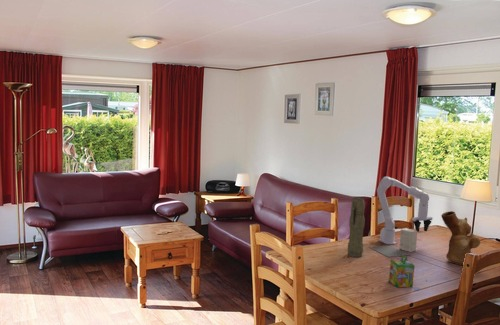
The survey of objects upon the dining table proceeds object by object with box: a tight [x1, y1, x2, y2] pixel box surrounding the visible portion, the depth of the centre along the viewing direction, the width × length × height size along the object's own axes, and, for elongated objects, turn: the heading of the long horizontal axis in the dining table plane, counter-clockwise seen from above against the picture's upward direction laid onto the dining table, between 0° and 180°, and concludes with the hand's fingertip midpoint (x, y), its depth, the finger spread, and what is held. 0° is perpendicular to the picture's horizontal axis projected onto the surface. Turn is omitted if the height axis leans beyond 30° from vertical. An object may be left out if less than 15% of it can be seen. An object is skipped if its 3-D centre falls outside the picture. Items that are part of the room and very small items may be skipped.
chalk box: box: [388, 255, 415, 288], centre depth 231 cm, size 9×9×15 cm
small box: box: [399, 227, 418, 253], centre depth 292 cm, size 8×6×13 cm
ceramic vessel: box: [440, 210, 481, 266], centre depth 269 cm, size 16×22×30 cm
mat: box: [368, 245, 411, 258], centre depth 288 cm, size 20×16×1 cm
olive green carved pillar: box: [347, 196, 366, 259], centre depth 275 cm, size 9×12×35 cm
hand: (421, 231), depth 301 cm, fingers open, 6 cm apart
